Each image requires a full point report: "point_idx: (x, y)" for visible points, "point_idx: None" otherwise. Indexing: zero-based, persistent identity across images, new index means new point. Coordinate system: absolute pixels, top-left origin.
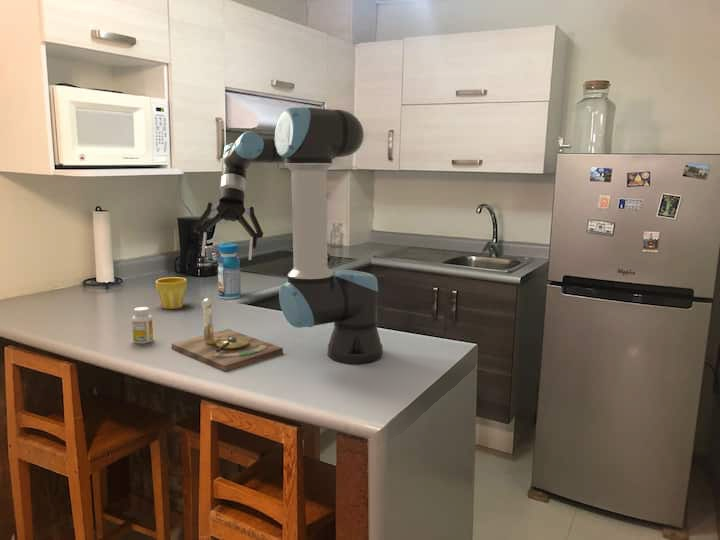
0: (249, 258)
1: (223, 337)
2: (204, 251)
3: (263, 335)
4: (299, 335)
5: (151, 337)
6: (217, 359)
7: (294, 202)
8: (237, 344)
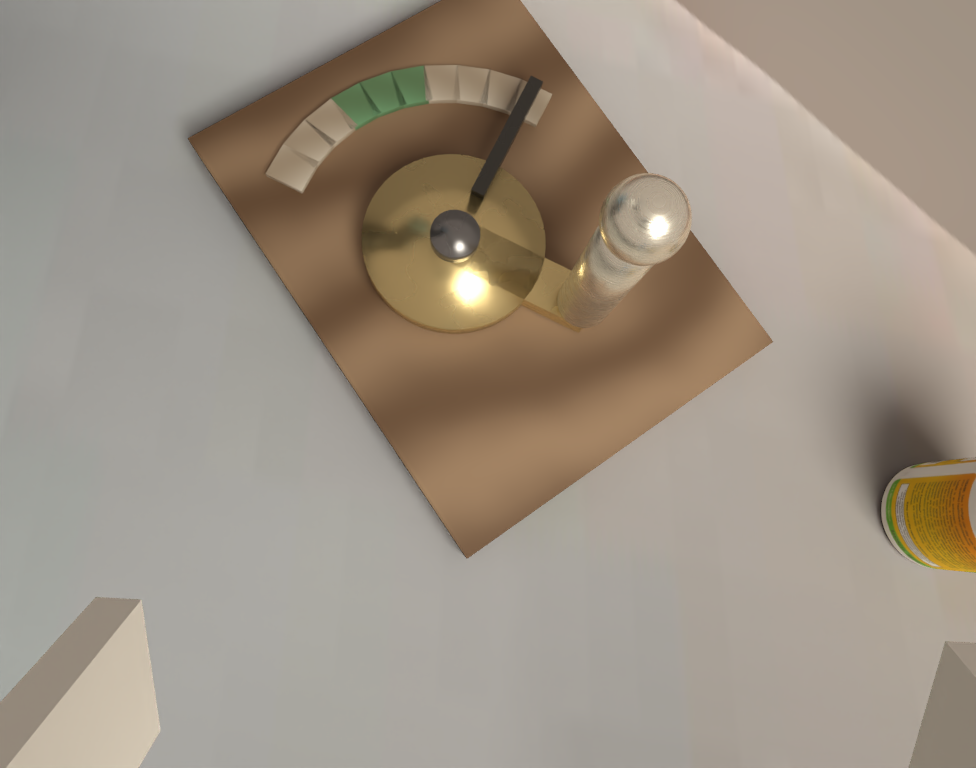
0: (139, 672)
1: (502, 310)
2: (964, 665)
3: (255, 485)
4: (30, 440)
5: (896, 492)
6: (531, 56)
7: None
8: (429, 172)
